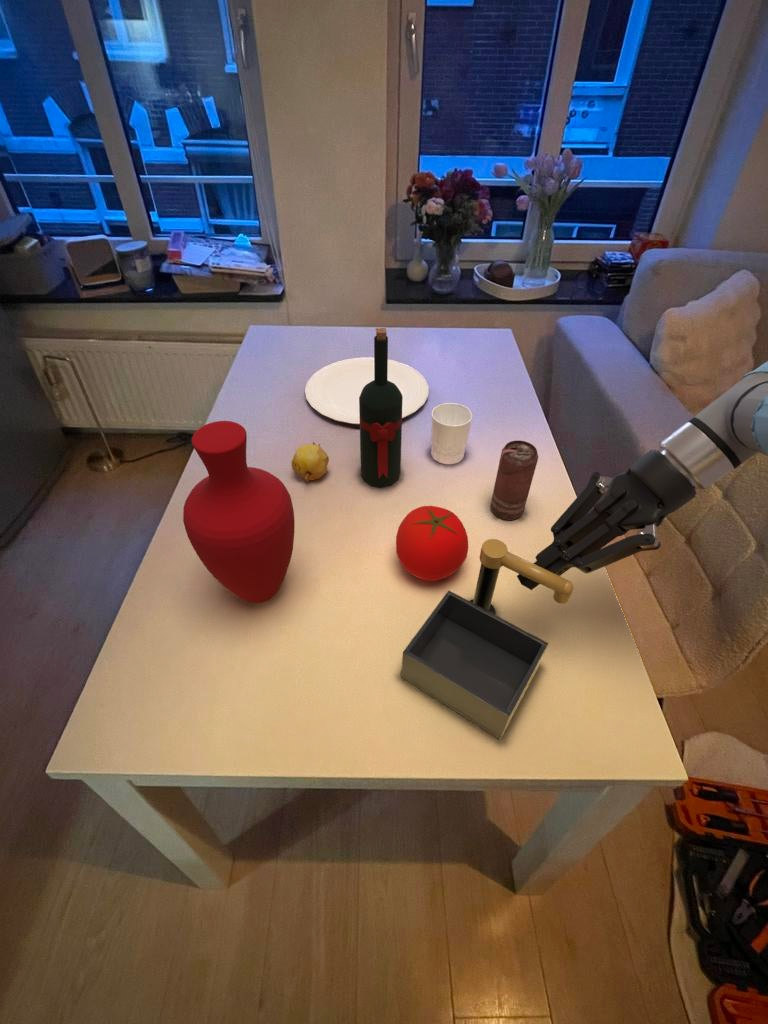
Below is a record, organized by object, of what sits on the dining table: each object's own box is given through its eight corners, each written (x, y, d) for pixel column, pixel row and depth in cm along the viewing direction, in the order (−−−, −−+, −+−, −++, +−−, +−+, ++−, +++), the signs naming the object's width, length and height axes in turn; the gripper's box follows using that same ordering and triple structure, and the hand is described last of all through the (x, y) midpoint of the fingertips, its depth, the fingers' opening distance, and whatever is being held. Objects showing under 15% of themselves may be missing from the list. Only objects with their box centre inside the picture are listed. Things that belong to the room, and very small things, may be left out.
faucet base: (486, 633, 78) (500, 580, 69) (457, 618, 80) (467, 564, 71) (500, 611, 81) (515, 557, 72) (472, 597, 83) (483, 542, 74)
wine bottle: (362, 496, 99) (357, 350, 78) (360, 462, 107) (355, 320, 86) (403, 494, 100) (410, 348, 79) (398, 460, 107) (403, 318, 86)
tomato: (469, 591, 84) (477, 548, 77) (396, 592, 84) (397, 548, 76) (460, 536, 92) (467, 492, 85) (394, 536, 92) (395, 493, 85)
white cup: (431, 467, 106) (435, 426, 99) (425, 443, 111) (428, 403, 104) (469, 465, 106) (476, 424, 99) (462, 442, 112) (467, 401, 105)
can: (483, 502, 99) (494, 442, 89) (513, 495, 100) (528, 436, 90) (497, 524, 95) (511, 464, 85) (529, 517, 96) (546, 457, 86)
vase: (192, 605, 82) (127, 453, 61) (247, 541, 91) (207, 391, 70) (272, 640, 77) (233, 489, 56) (321, 568, 87) (303, 417, 66)
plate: (344, 353, 139) (344, 346, 137) (447, 380, 129) (447, 373, 128) (281, 409, 120) (279, 402, 119) (395, 444, 111) (395, 437, 110)
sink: (500, 740, 67) (509, 717, 63) (401, 677, 73) (402, 652, 69) (537, 668, 74) (548, 642, 70) (444, 616, 81) (448, 590, 76)
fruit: (324, 470, 96) (336, 437, 103) (287, 459, 95) (301, 427, 102) (318, 495, 101) (329, 462, 108) (283, 485, 100) (297, 452, 107)
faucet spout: (474, 565, 72) (477, 550, 69) (485, 550, 74) (488, 535, 71) (563, 610, 67) (569, 595, 64) (572, 592, 69) (579, 577, 66)
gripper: (723, 518, 61) (560, 629, 70) (655, 450, 70) (517, 556, 79) (705, 492, 56) (532, 615, 65) (633, 423, 65) (489, 539, 74)
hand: (524, 583), depth 72 cm, fingers closed
